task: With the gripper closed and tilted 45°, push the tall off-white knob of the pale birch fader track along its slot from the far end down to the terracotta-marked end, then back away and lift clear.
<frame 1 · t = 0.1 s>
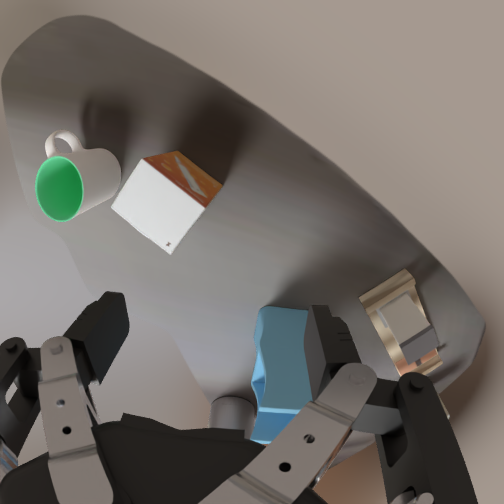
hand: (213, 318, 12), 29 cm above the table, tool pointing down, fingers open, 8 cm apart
small box: (187, 184, 39), on the table
fader track: (403, 329, 48), on the table
fader knob: (406, 324, 39), point 7 cm above the table, slide at 0.0 cm
mug: (93, 163, 38), on the table
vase: (280, 326, 48), on the table
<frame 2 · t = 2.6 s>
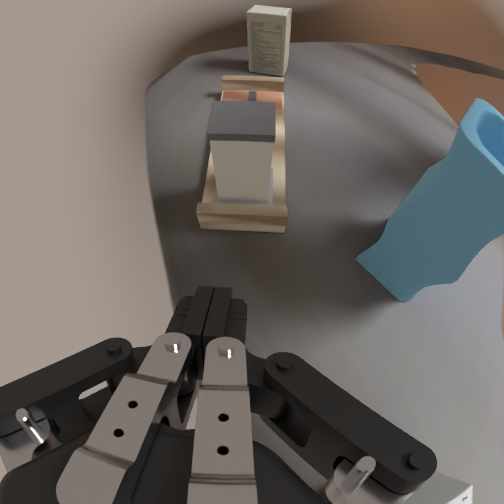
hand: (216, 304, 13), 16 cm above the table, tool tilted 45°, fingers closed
small box: (376, 492, 21), on the table
fader track: (248, 147, 37), on the table
fader knob: (243, 158, 27), point 7 cm above the table, slide at 0.0 cm
skincare box: (267, 69, 45), on the table
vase: (398, 260, 31), on the table
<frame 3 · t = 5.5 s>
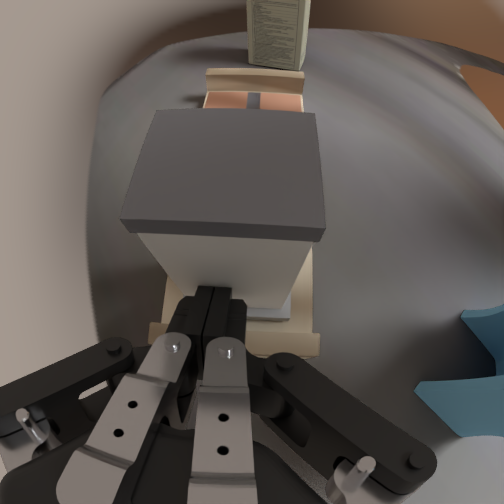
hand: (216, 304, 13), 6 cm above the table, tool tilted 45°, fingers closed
fader track: (247, 191, 22), on the table
fader knob: (234, 239, 13), point 7 cm above the table, slide at 0.6 cm
skincare box: (276, 61, 30), on the table
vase: (467, 378, 17), on the table
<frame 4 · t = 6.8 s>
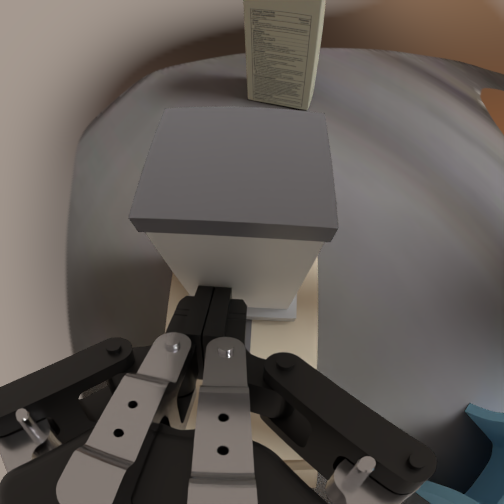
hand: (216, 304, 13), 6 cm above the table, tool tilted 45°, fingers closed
fader track: (244, 287, 19), on the table
fader knob: (242, 238, 13), point 7 cm above the table, slide at 8.1 cm, touching gripper
skincare box: (280, 95, 27), on the table
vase: (462, 465, 14), on the table
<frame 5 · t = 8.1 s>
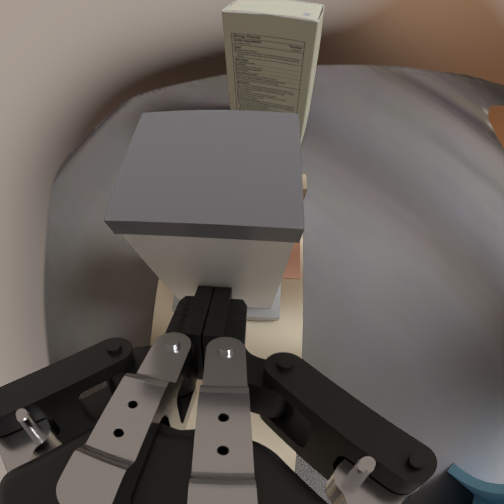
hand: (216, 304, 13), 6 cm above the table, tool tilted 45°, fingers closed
fader track: (225, 366, 18), on the table
fader knob: (222, 239, 13), point 7 cm above the table, slide at 13.3 cm, touching gripper
skincare box: (269, 127, 25), on the table
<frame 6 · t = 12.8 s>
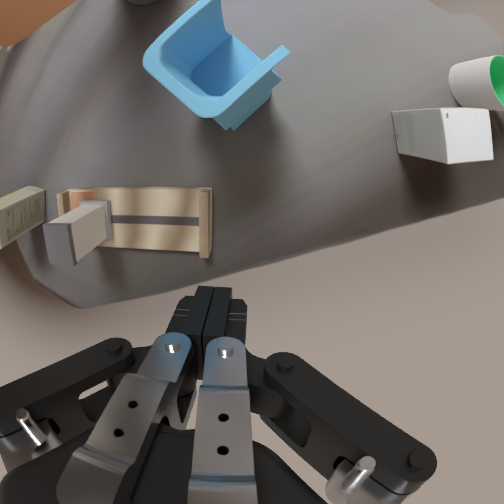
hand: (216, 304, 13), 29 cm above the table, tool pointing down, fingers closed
small box: (416, 130, 36), on the table
fader track: (133, 216, 42), on the table
fader knob: (79, 231, 35), point 7 cm above the table, slide at 13.6 cm
skincare box: (37, 204, 41), on the table
mug: (474, 91, 32), on the table
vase: (234, 91, 35), on the table
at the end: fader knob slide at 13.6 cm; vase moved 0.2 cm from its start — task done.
